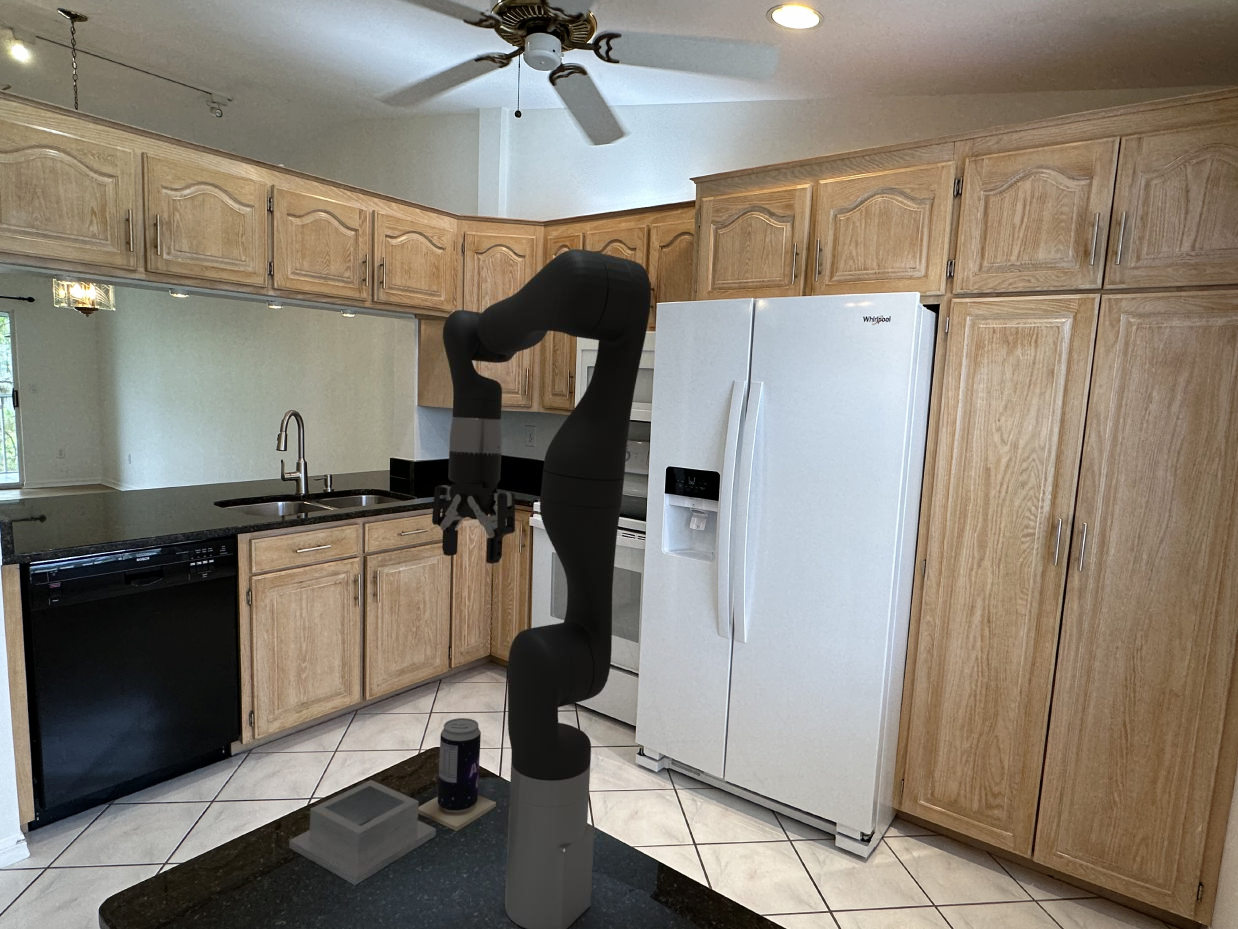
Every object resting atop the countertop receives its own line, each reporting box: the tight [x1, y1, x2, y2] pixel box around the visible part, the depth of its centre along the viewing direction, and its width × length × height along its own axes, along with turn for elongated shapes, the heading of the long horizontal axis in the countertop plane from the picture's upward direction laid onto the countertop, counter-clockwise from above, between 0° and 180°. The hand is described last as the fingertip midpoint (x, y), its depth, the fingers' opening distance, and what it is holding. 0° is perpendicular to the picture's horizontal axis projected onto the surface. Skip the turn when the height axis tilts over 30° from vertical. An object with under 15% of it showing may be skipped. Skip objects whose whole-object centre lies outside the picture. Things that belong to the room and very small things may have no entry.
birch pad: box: [418, 794, 497, 832], centre depth 103 cm, size 8×8×1 cm
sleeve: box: [288, 779, 437, 886], centre depth 94 cm, size 13×13×5 cm
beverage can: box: [437, 717, 482, 814], centre depth 103 cm, size 6×6×12 cm
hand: (471, 558), depth 105 cm, fingers open, 8 cm apart
